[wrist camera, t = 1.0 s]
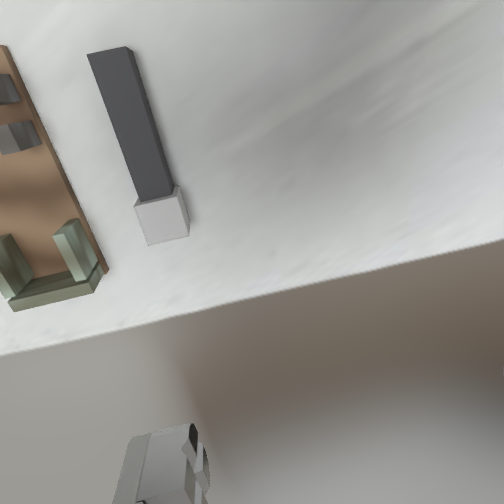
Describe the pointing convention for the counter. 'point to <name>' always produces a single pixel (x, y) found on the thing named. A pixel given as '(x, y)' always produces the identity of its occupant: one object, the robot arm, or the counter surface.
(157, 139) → the dark grey square bar
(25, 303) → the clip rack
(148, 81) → the counter surface
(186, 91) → the counter surface
